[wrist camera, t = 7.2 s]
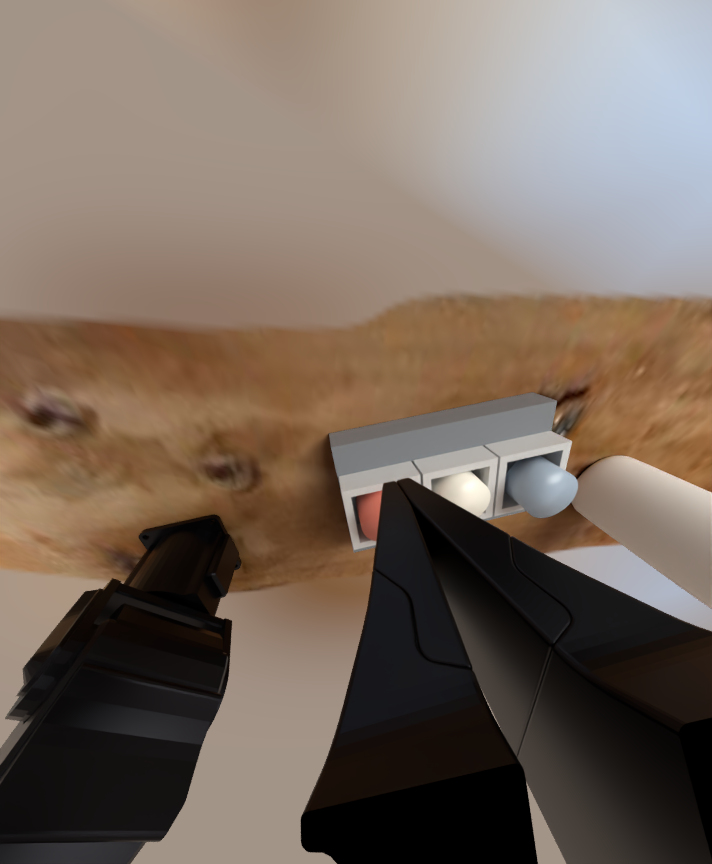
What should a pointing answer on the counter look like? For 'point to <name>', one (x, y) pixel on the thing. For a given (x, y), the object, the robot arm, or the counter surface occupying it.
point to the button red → (369, 513)
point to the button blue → (540, 486)
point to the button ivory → (463, 491)
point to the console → (447, 451)
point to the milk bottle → (652, 518)
